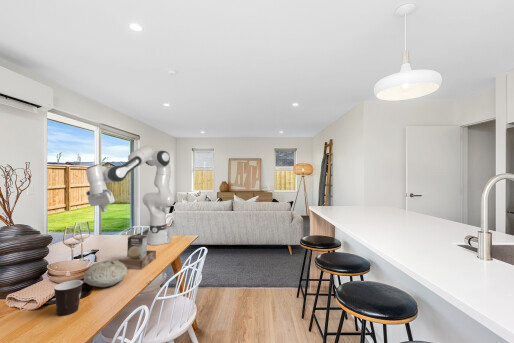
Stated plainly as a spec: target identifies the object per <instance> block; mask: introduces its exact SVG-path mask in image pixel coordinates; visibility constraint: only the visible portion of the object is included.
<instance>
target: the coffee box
mask: <svg viewBox="0 0 514 343" xmlns="http://www.w3.org/2000/svg"><path fill="white" fill-rule="evenodd" d="M147 236H148V235H142V234H133V235H130V236H128V237H127V252H126V253H127V256H126V259H133V260H141V259H142V258H144V257H145V256H146V254H147V248H148V244H147Z"/></svg>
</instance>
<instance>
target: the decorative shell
mask: <svg viewBox="0 0 514 343" xmlns="http://www.w3.org/2000/svg"><path fill="white" fill-rule="evenodd" d="M127 273H128V269H127V267H125V265H124V264H123V263H121V262H119V261H118V260H114V259H113V260H111V259H108V260H106V259H105V260H102V261H99V262H97V263H94V264H92V265H90V266H89V268H87V270H86V271H84V274H83V280H84V282H85V283H86V284H87V285H89V286H93V287H99V288H106V287H110V286H114V285H115V284H118V283H119V282H121V281H122V280H124V279H125V277H126V276H127Z"/></svg>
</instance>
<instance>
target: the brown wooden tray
mask: <svg viewBox="0 0 514 343" xmlns="http://www.w3.org/2000/svg"><path fill="white" fill-rule="evenodd" d="M156 254H157V250H147V254H146V256H145V257H144V258H142V259H141V260H133V259H127V258H122V259H121V258H120V259H118V260H117V261H119V262H121V263H123V264H124V265H125V267H127V270H143V269H144V268H146V266H147V267H148V265H150V264H151V263H152V262H154V260H156V258H157V257H156V256H157V255H156Z"/></svg>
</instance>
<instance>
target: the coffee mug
mask: <svg viewBox="0 0 514 343" xmlns="http://www.w3.org/2000/svg"><path fill="white" fill-rule="evenodd" d="M83 283H84V282H83V281H82V280H80V279H73V280H67V281H63V282H60V283H58V284H56V285H54V288H53V289H54V296H55V297H54V298H55V299H54V300H55V309H56V315H57V316H58V317H66V316H70V315H72V314H75V313H76V312H77V311H78V310H79V306H80V301H81V295H82V288H83Z"/></svg>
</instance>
